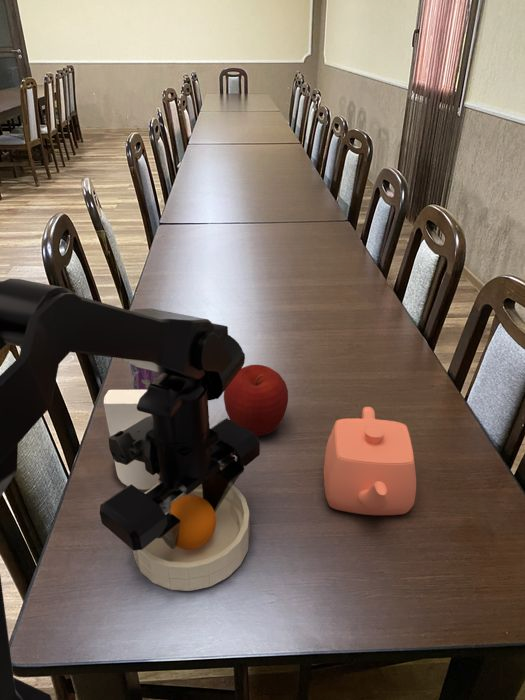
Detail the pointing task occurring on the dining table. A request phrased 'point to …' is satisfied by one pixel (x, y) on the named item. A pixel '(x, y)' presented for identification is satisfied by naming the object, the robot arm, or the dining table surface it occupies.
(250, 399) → the apple
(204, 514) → the orange
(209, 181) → the dining table surface
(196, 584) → the bowl
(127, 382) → the dining table surface
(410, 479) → the teapot
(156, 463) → the robot arm
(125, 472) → the cylinder with rectangular tab
